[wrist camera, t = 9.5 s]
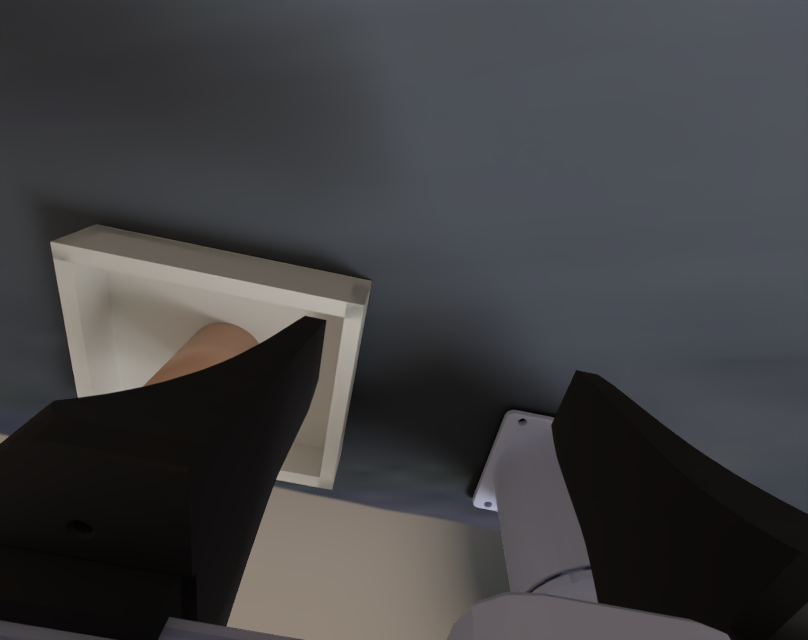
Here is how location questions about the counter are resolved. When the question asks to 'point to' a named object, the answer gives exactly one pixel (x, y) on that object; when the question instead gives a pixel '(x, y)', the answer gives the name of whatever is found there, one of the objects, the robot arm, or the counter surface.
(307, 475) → the tray
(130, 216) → the counter surface
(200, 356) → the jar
